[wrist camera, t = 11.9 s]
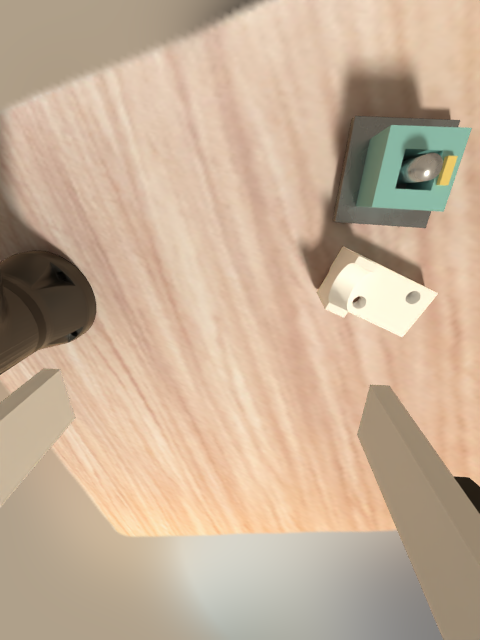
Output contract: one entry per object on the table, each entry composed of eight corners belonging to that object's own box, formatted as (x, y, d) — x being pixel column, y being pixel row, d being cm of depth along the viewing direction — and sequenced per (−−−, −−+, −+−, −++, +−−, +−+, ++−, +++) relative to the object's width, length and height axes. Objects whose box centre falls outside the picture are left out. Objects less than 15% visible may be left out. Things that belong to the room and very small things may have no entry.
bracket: (315, 290, 40) (325, 309, 33) (342, 245, 37) (359, 255, 30) (391, 326, 41) (416, 352, 34) (423, 285, 38) (457, 304, 31)
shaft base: (332, 221, 35) (352, 227, 27) (351, 119, 31) (382, 87, 22) (419, 227, 35) (469, 235, 26) (451, 124, 30) (524, 92, 22)
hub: (370, 138, 30) (393, 123, 24) (435, 141, 30) (476, 126, 24) (355, 206, 33) (373, 207, 27) (415, 210, 33) (447, 211, 27)
